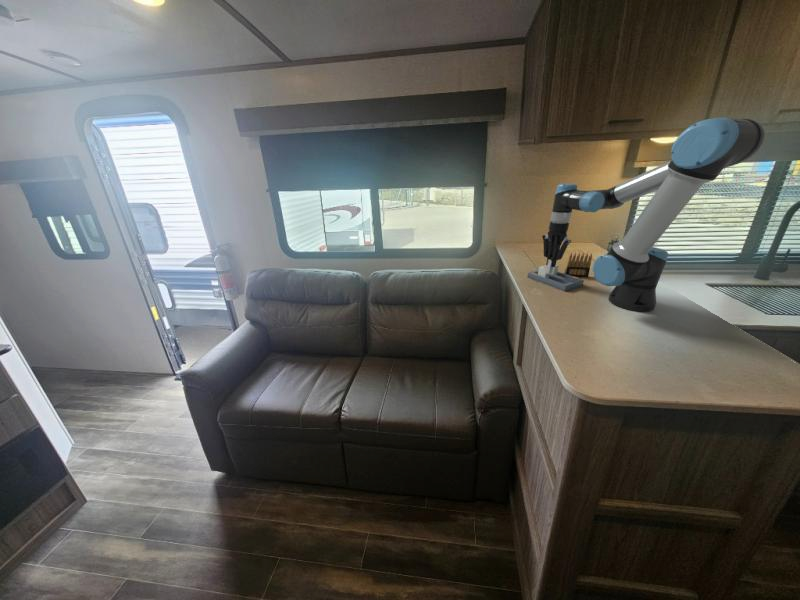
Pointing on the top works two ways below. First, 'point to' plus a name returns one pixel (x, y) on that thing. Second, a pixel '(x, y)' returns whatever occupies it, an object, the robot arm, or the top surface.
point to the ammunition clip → (578, 265)
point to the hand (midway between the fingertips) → (549, 272)
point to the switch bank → (557, 280)
